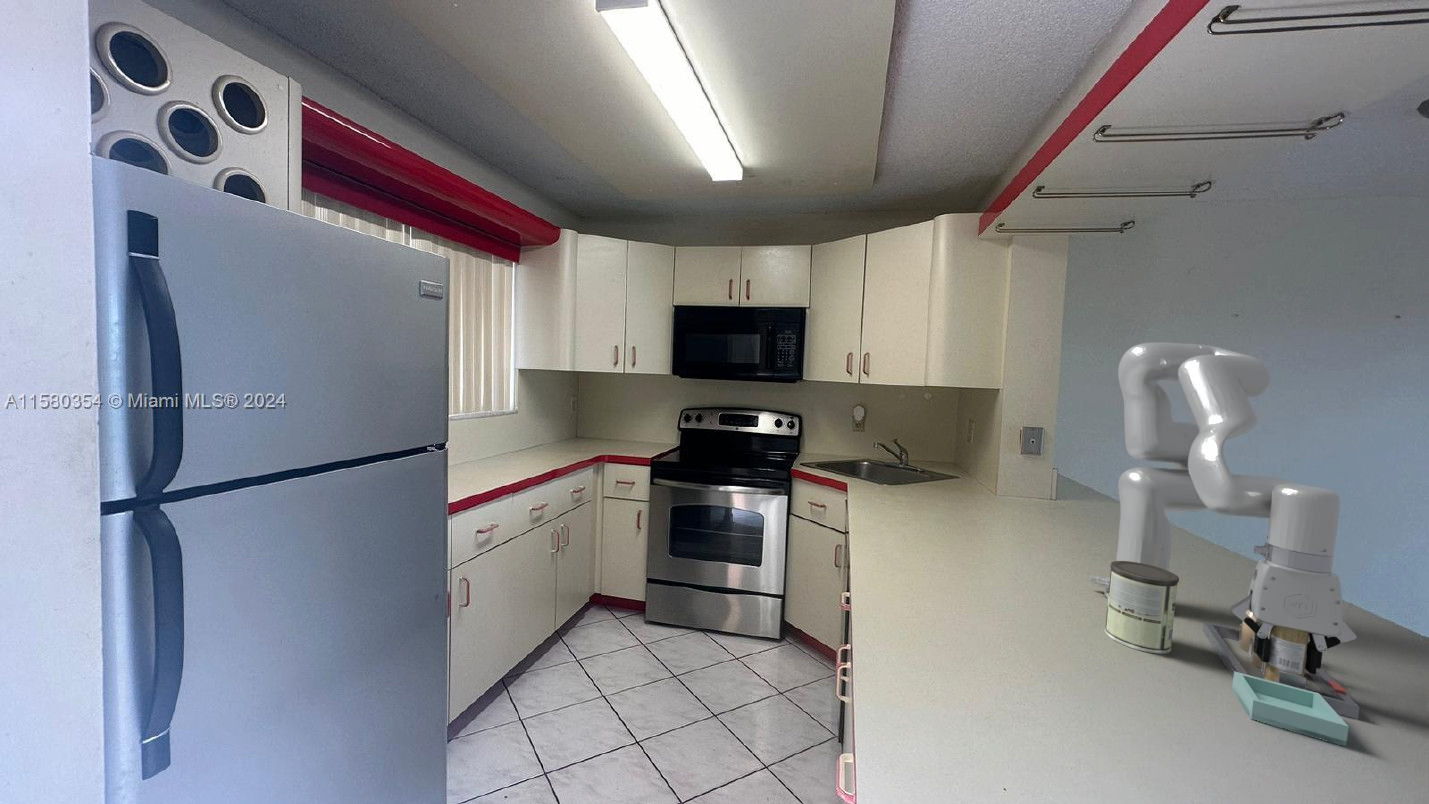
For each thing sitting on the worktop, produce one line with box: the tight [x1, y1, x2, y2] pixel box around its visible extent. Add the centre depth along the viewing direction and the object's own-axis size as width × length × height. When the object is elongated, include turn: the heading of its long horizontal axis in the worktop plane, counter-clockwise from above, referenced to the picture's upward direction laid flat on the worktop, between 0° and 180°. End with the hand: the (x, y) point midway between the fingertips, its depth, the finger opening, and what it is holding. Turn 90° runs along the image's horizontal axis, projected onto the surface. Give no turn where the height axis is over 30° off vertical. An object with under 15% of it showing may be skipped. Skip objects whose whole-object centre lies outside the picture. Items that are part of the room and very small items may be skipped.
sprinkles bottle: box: [1263, 625, 1309, 682], centre depth 88 cm, size 5×5×14 cm
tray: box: [1231, 671, 1349, 748], centre depth 80 cm, size 10×10×3 cm
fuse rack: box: [1202, 621, 1360, 720], centre depth 94 cm, size 13×24×4 cm, turn 147°
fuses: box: [1239, 610, 1270, 669], centre depth 97 cm, size 4×11×9 cm, turn 147°
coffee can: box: [1104, 560, 1180, 655], centre depth 102 cm, size 10×10×14 cm
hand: (1285, 663), depth 88 cm, fingers open, 4 cm apart
